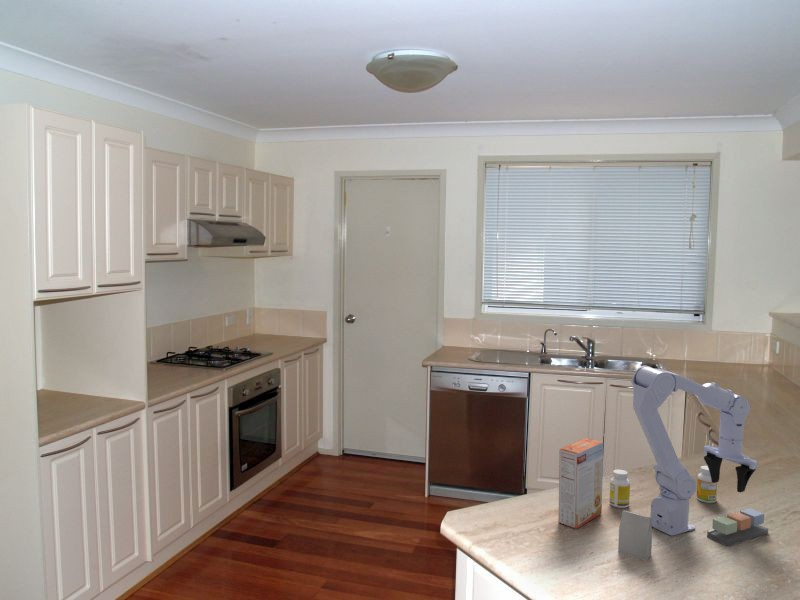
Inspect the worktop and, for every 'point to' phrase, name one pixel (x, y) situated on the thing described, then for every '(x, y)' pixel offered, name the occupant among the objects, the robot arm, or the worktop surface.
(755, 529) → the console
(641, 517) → the grey rectangular block
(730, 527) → the sage key
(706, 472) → the supplement bottle
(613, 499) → the supplement bottle
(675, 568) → the worktop surface
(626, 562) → the worktop surface
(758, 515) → the light blue square block
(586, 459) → the cracker box
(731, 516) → the terracotta key
